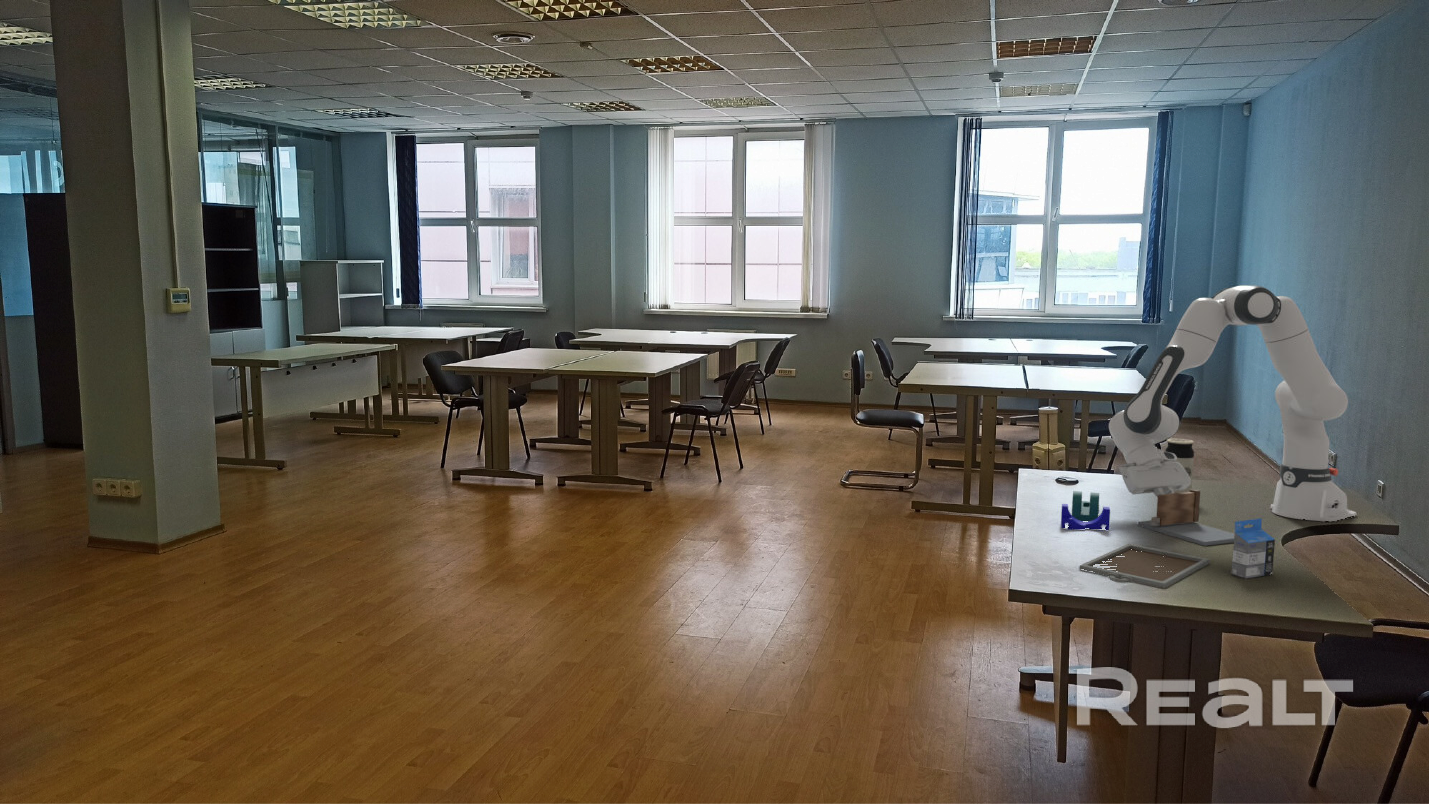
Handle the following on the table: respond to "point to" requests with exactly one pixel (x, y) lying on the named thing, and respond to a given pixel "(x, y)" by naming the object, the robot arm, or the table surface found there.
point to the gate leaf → (1177, 508)
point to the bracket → (1085, 507)
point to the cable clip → (1077, 524)
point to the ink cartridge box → (1252, 550)
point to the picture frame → (1146, 565)
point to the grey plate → (1193, 532)
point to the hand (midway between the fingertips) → (1171, 503)
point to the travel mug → (1183, 456)
